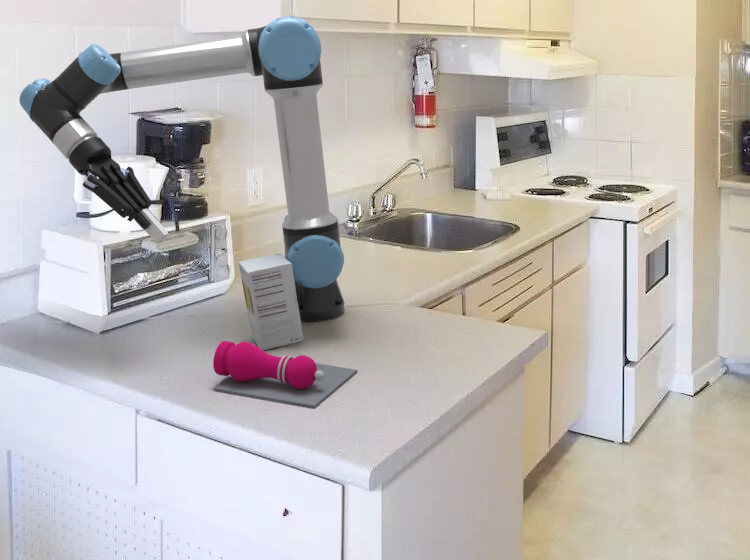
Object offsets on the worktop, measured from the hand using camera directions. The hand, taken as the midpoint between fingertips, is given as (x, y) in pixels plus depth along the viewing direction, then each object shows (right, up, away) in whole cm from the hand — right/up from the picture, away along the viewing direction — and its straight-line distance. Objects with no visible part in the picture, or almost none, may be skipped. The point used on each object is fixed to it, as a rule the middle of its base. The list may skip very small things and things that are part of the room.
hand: (162, 238), depth 162 cm
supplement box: (+20, -20, +13) cm, 32 cm away
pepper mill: (+12, -22, -8) cm, 27 cm away
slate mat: (+25, -26, -7) cm, 37 cm away
